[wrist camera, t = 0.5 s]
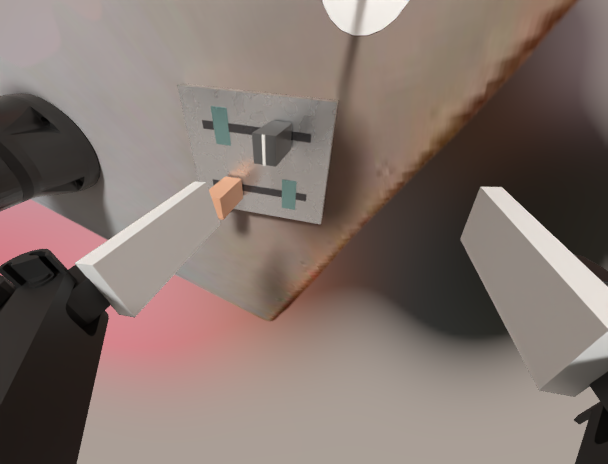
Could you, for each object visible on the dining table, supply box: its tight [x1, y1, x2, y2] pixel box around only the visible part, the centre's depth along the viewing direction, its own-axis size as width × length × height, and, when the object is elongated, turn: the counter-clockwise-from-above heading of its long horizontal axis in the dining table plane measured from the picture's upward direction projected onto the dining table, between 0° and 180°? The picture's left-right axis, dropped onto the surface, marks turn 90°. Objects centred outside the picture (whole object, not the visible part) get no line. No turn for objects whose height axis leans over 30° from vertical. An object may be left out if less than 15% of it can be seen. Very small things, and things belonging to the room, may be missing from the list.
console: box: [177, 84, 339, 224], centre depth 32 cm, size 19×16×2 cm
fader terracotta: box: [209, 176, 243, 220], centre depth 31 cm, size 2×3×6 cm
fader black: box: [252, 121, 292, 167], centre depth 25 cm, size 2×3×6 cm
